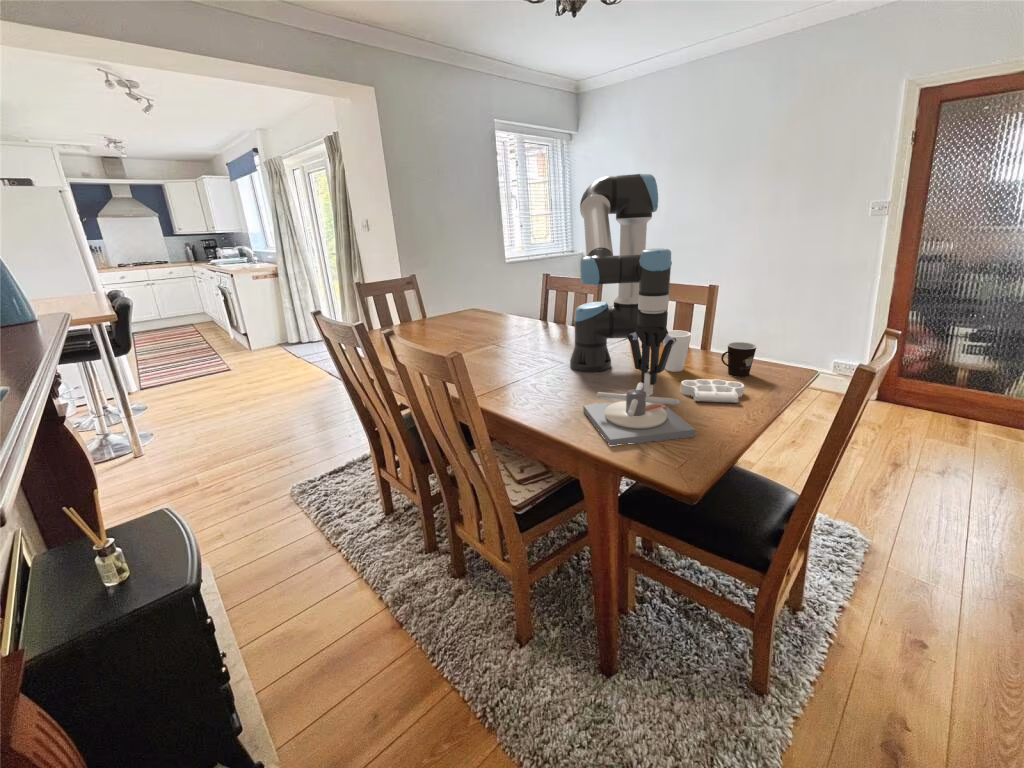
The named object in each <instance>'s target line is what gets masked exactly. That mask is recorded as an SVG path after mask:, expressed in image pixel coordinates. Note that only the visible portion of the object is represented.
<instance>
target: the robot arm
mask: <svg viewBox="0 0 1024 768" xmlns="http://www.w3.org/2000/svg"><path fill="white" fill-rule="evenodd" d="M658 192H659V191H658V184H657V181H656V178H655V176H654V175H652V173H651V174H650V173H636V174H634V173H633V174H622V175H621V174H620V175H609V176H608V175H607V176H603V177H600V178H598V179H596V180H595V181H594V182H592V183H591V184H590V185H589V186H588V187H587V188H586V189H585V191H584V192H583V194H582V197H581V199H580V203H579V211H580V216H581V217H582V219H583V224H584V239H585V255H586V256H585V257H581V258H580V264H579V265H580V267H579V269H580V271H579V272H580V275H579V276H580V282H581V284H583V285H594V286H595V285H609V284H611V285H612V284H618V295H617V296H616V298H615V299H614V300H613V305H609V304H608V302H606V301H593V302H586V303H583V304H581V305H578V306H577V307H576V309H575V311H574V320H573V321H574V347H573V350H572V353H571V356H570V360H569V364H570V365H569V366H570V368H571V369H572V370H575V371H578V372H584V373H585V372H586V373H587V372H588V373H593V372H595V373H596V372H603V371H607V370H609V369H611V367H612V358H611V355H610V352H609V347H608V343H607V342H608V341H607V340H608V339H627V340H628V341H629V343H630V347H631V353H632V359H633V363H634V368H635V369H636V370H639V371H640V372H641V377H640V378H641V381H640V383H643V391H645V392H646V396H651V395H653V393H654V391H653V390H654V386H655V385H656V383H657V380H658V379H657V377H658V374H661V373H662V372H664V370H665V366H666V363H667V360H668V357H669V354H670V351H671V348H672V346H673V344H674V343H675V342H676V338H672V337H670V336H669V335H668V331H669V330H668V328H667V326H668V315H669V313H668V311H667V310H668V308H669V297H670V283H671V273H672V272H671V269H672V264H673V262H672V251H671V249H669V248H646V247H647V225H648V223H649V222H650V220H651V219H652V218H653V213H655V212H657V211H658V207H659V205H658V204H659V193H658ZM612 214H614V215H615V220H616V221H617V223H619V225H620V227H619V228H620V229H619V255H614V251H613V243H612V235H611V234H612V233H611V227H610V218H609V215H612ZM664 339H665V344H666V345H665V346H664V349H662V351H661V355H660V348H661V343H663V340H664ZM639 340H640V342H639ZM640 343H641V344H640ZM640 345H641V346H640ZM659 356H660V357H659ZM659 358H660V359H659Z"/></svg>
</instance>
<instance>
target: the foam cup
mask: <svg viewBox="0 0 1024 768" xmlns="http://www.w3.org/2000/svg"><path fill="white" fill-rule="evenodd" d="M667 331H668V335H669V336H670V337H672V338H676V342H675V343H674V344H673V346H672V348H671V351H670V354H669V357H668V360H667V363H666V366H665V369H666V370H665V369H664V370H665V371H668V372H672V373H673V372H675V373H676V372H681V371H684V369H685V368H684V367H685V365H686V363H685V362H686V359H687V355H688V351H689V346H690V342H691V338H692V333H691V332H689V331H686V330H681V329H680V330H677V329H675V330H674V329H669V330H667ZM665 345H666V344H665V339H664V340H663V341H662V348H663V349H664V346H665ZM663 349H662V350H663Z"/></svg>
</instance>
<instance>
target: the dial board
mask: <svg viewBox="0 0 1024 768" xmlns="http://www.w3.org/2000/svg"><path fill="white" fill-rule="evenodd" d="M621 401H622V400H620V401H619V400H618V402H621ZM616 402H617V401H611V402H610V401H609V402H602V403H594V404H593V403H592V404H584V405H582V406H583V410H582V411H584V412H585V413H584V412H583V413H584V415H585V414H586V415H587V416H588V417H587V416H586V415H585V416H586V417H587V419H588V418H589V419H590V420H591V421H590V420H589V419H588V420H589V421H590V423H591V422H592V423H593V424H594V425H595V426H594V425H593V424H592V423H591V424H592V425H593V426H594V428H595V427H596V428H597V429H598V430H599V432H600V433H601V434H602V435H603V437H604V438H605V440H606V441H607V442H608V443H609V445H617V444H628V443H638V444H645V443H644V442H646V443H652V442H651V441H655V442H660V441H661V440H663V441H670V439H671V440H679V439H678V438H680V439H686V438H687V437H688V438H694V437H695V433H696V429H695V428H694V427H693V426H691V425H690V424H689V423H688V422H687V421H685V420H684V419H683V418H682V417H680V416H679V415H678V414H677V413H675V411H673V410H672V409H671V408H669V407H668V406H667V404H661V405H662V406H661V407H662V408H663V409H664V410H665V411H666V413H667V419H666V421H665V422H664V423H663V424H661V425H659V426H656V427H652V428H645V429H635V428H627V427H622V426H618V425H616V424H613V423H611V422H610V421H608V420H607V419H606V417H605V409H606V407H608V406H609V405H611V404H613V403H616ZM648 403H649V402H648ZM652 404H658V403H652ZM659 404H660V403H659ZM596 428H595V429H596ZM597 429H596V430H597ZM598 430H597V431H598ZM599 432H598V433H599ZM600 433H599V434H600ZM601 434H600V435H601ZM603 437H602V438H603ZM604 438H603V439H604ZM605 440H604V441H605ZM606 441H605V442H606ZM607 442H606V443H607ZM661 442H662V441H661ZM609 445H608V446H609Z"/></svg>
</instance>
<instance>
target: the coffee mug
mask: <svg viewBox="0 0 1024 768" xmlns="http://www.w3.org/2000/svg"><path fill="white" fill-rule="evenodd" d="M756 350H757V344H754V343H750V342H741V341H740V342H737V341H734V342H730V343H728V344H727V351H725V352H724V353H722V355H721V360H720V361H721V362H722V363H723V364H724V365H725V366H726V367H727V374H728V375H729V376H731V375H732V377H734V376H736V378H746V376H747V377H749V376H750V373H751V369H752V365H753V362H754V359H755V353H756ZM725 355H727V363H726V362H725V360H724V357H725Z"/></svg>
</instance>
